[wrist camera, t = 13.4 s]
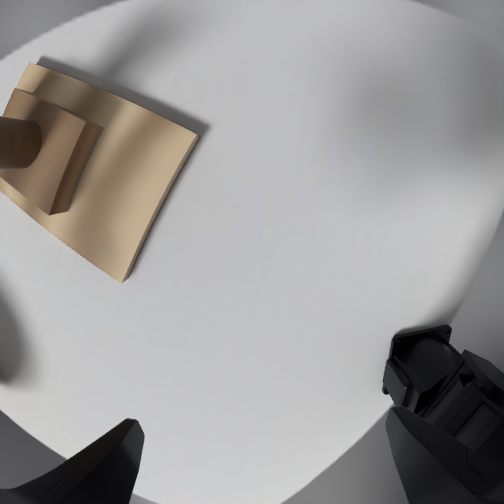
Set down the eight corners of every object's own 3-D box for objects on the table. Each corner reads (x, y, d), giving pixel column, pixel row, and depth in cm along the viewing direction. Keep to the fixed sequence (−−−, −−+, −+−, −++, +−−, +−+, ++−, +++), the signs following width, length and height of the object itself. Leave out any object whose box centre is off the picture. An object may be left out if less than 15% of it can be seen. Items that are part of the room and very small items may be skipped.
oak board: (199, 136, 18) (196, 134, 17) (126, 279, 21) (121, 283, 20) (35, 64, 17) (29, 62, 16) (-10, 174, 19) (-17, 175, 18)
